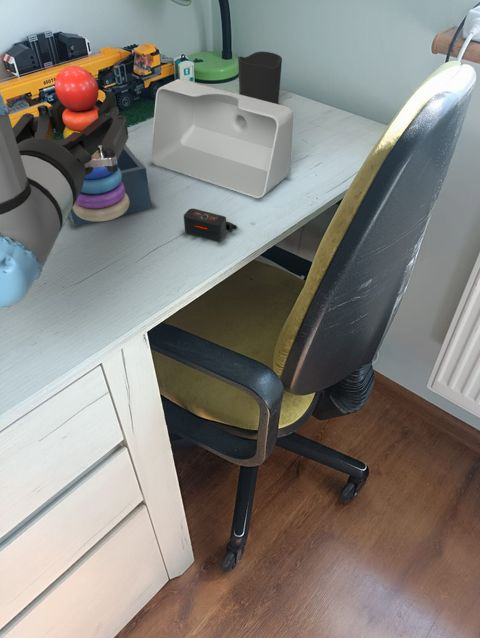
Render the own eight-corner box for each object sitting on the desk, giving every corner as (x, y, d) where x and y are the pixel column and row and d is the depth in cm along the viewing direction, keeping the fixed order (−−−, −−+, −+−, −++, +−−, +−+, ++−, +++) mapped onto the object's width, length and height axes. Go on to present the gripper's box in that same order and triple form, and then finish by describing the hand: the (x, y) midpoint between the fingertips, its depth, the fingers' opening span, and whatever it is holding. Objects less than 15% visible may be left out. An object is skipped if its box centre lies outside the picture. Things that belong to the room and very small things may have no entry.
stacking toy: (141, 211, 74) (119, 70, 61) (92, 231, 70) (57, 84, 57) (111, 190, 78) (85, 53, 65) (63, 208, 74) (24, 66, 61)
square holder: (54, 190, 89) (43, 151, 84) (126, 174, 93) (119, 136, 88) (74, 227, 81) (63, 185, 76) (151, 207, 86) (146, 167, 81)
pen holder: (280, 115, 114) (282, 65, 107) (238, 114, 114) (237, 64, 107) (278, 99, 121) (281, 51, 114) (238, 98, 120) (238, 50, 113)
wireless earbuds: (224, 245, 79) (224, 227, 76) (183, 234, 80) (181, 216, 78) (237, 230, 82) (237, 212, 79) (197, 220, 83) (196, 202, 81)
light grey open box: (306, 164, 98) (312, 95, 89) (263, 200, 88) (265, 127, 79) (199, 133, 106) (195, 67, 98) (149, 162, 97) (140, 92, 88)
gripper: (-38, 218, 55) (32, 128, 71) (131, 223, 55) (162, 132, 71) (-69, 150, 50) (14, 69, 66) (119, 155, 50) (156, 73, 66)
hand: (91, 102), depth 69 cm, fingers closed on stacking toy, 5 cm apart
